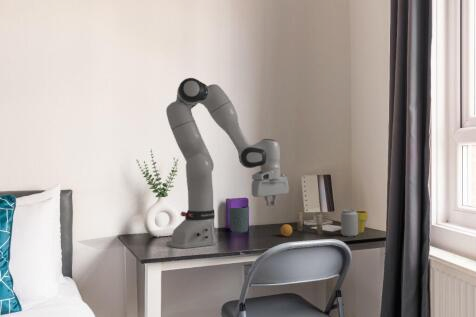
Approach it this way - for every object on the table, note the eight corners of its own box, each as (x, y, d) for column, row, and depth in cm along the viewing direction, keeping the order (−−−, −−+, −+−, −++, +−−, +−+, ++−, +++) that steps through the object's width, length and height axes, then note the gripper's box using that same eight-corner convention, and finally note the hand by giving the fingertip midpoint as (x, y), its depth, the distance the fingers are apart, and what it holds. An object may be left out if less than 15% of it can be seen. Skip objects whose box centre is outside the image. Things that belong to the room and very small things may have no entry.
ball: (286, 237, 213) (286, 225, 213) (278, 236, 218) (277, 224, 218) (294, 236, 217) (294, 224, 217) (286, 234, 221) (286, 223, 221)
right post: (319, 234, 221) (319, 215, 221) (315, 233, 223) (315, 214, 223) (323, 233, 222) (323, 214, 222) (319, 232, 224) (319, 214, 224)
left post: (300, 230, 231) (300, 212, 230) (296, 230, 233) (296, 212, 232) (303, 230, 232) (303, 212, 232) (299, 229, 234) (299, 211, 234)
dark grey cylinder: (231, 233, 228) (230, 208, 227) (227, 229, 238) (227, 206, 237) (251, 232, 230) (251, 207, 230) (246, 228, 240) (246, 205, 239)
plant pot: (370, 233, 221) (370, 212, 221) (348, 233, 221) (348, 213, 221) (365, 229, 231) (364, 209, 231) (343, 229, 231) (343, 210, 231)
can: (358, 237, 212) (358, 210, 211) (341, 237, 213) (341, 210, 213) (357, 234, 219) (357, 208, 219) (341, 234, 220) (340, 208, 220)
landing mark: (331, 231, 227) (331, 231, 227) (309, 228, 238) (309, 227, 238) (349, 228, 236) (349, 227, 236) (327, 224, 247) (327, 224, 247)
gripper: (282, 173, 220) (282, 203, 220) (249, 175, 207) (249, 206, 207) (291, 174, 215) (292, 204, 215) (258, 176, 202) (259, 208, 202)
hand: (271, 205), depth 211 cm, fingers closed
